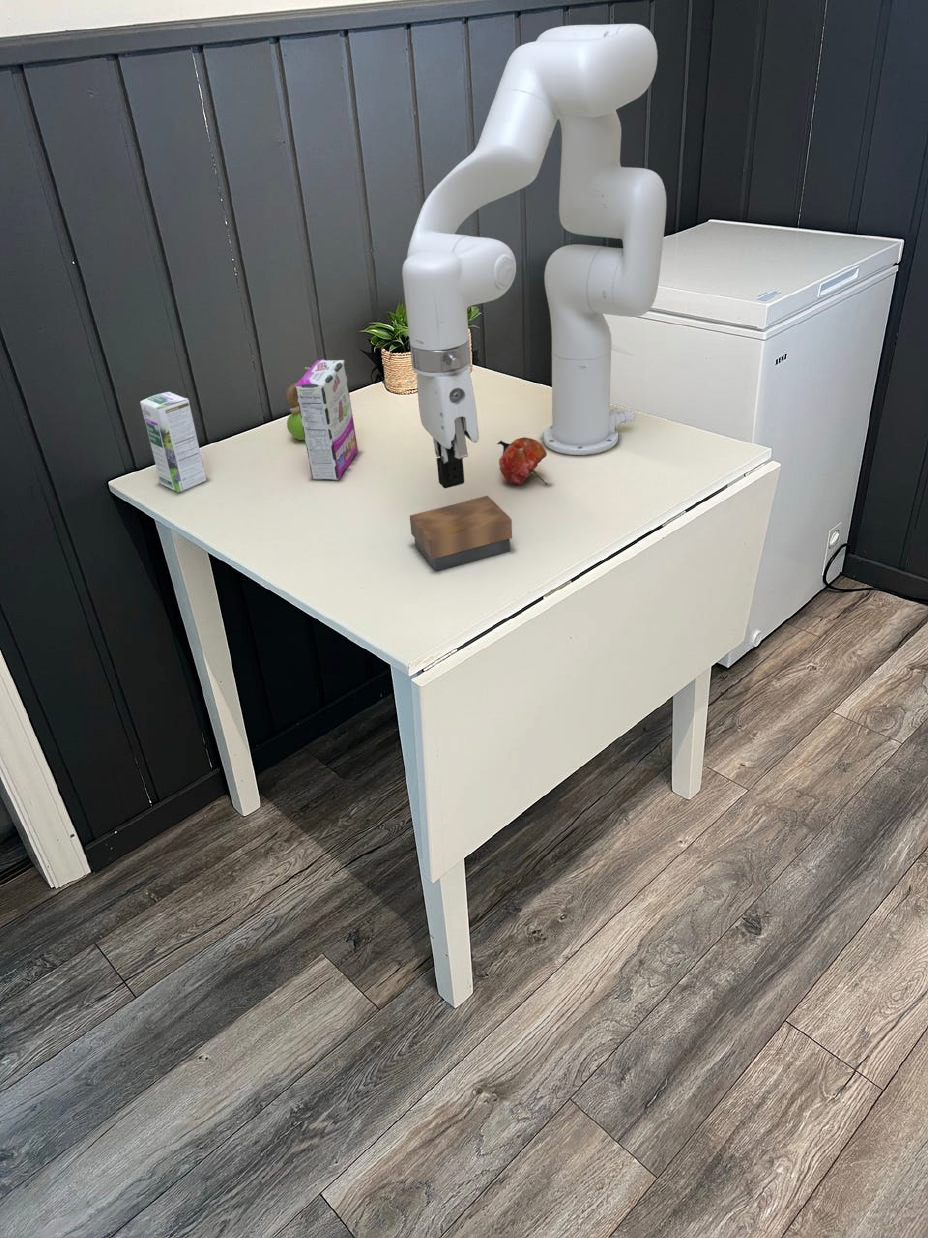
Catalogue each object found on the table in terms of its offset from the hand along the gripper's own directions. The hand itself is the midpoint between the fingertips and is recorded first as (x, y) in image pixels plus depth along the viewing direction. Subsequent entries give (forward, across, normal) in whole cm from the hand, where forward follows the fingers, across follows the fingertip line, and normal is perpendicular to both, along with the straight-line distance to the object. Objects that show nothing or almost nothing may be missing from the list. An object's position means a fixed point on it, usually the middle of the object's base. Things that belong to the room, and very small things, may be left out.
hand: (451, 483), depth 131 cm
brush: (+6, +1, 0) cm, 6 cm away
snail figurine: (+9, +46, +10) cm, 48 cm away
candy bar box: (+9, +32, +8) cm, 34 cm away
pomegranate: (+9, +11, -16) cm, 22 cm away
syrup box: (+9, +39, +32) cm, 52 cm away
